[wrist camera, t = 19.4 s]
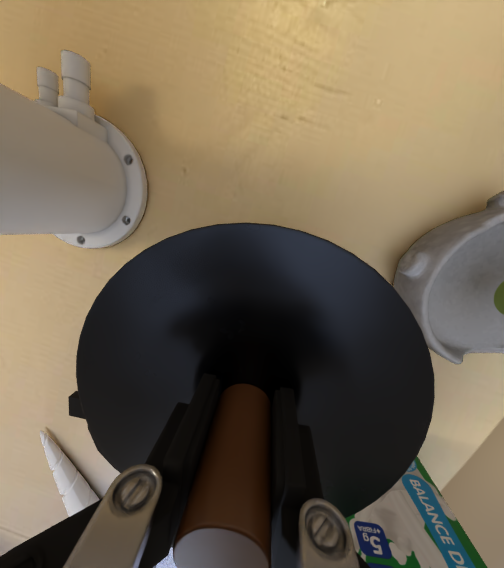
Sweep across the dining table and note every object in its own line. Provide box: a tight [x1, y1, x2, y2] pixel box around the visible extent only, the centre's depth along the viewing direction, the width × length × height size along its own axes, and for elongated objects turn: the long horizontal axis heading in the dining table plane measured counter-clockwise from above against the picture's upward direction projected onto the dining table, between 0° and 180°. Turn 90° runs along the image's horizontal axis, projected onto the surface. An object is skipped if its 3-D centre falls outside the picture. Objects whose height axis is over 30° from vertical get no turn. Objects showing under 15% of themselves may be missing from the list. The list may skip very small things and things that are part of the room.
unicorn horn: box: [40, 431, 100, 517], centre depth 31 cm, size 5×24×5 cm, turn 21°
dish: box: [394, 191, 504, 364], centre depth 20 cm, size 14×14×5 cm
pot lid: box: [76, 223, 435, 568], centre depth 8 cm, size 16×16×6 cm
